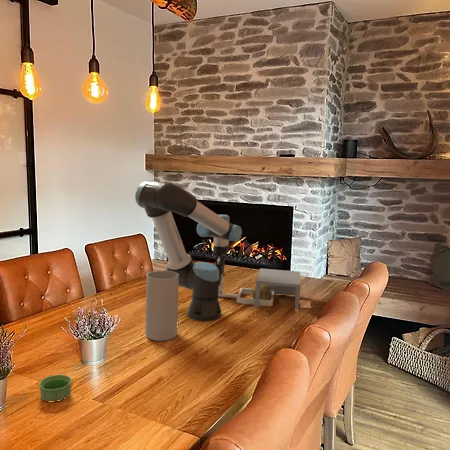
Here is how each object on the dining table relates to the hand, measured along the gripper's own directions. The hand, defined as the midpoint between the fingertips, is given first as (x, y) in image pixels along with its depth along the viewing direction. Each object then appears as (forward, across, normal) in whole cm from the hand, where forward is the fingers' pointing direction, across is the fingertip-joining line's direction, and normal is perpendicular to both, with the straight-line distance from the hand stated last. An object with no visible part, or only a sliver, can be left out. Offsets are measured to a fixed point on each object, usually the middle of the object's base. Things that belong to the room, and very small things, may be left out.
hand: (219, 289), depth 232 cm
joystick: (+3, 0, -13) cm, 13 cm away
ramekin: (+4, -106, +30) cm, 110 cm away
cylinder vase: (+4, -56, +13) cm, 57 cm away
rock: (+4, 0, -22) cm, 22 cm away
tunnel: (+4, 0, -33) cm, 34 cm away
